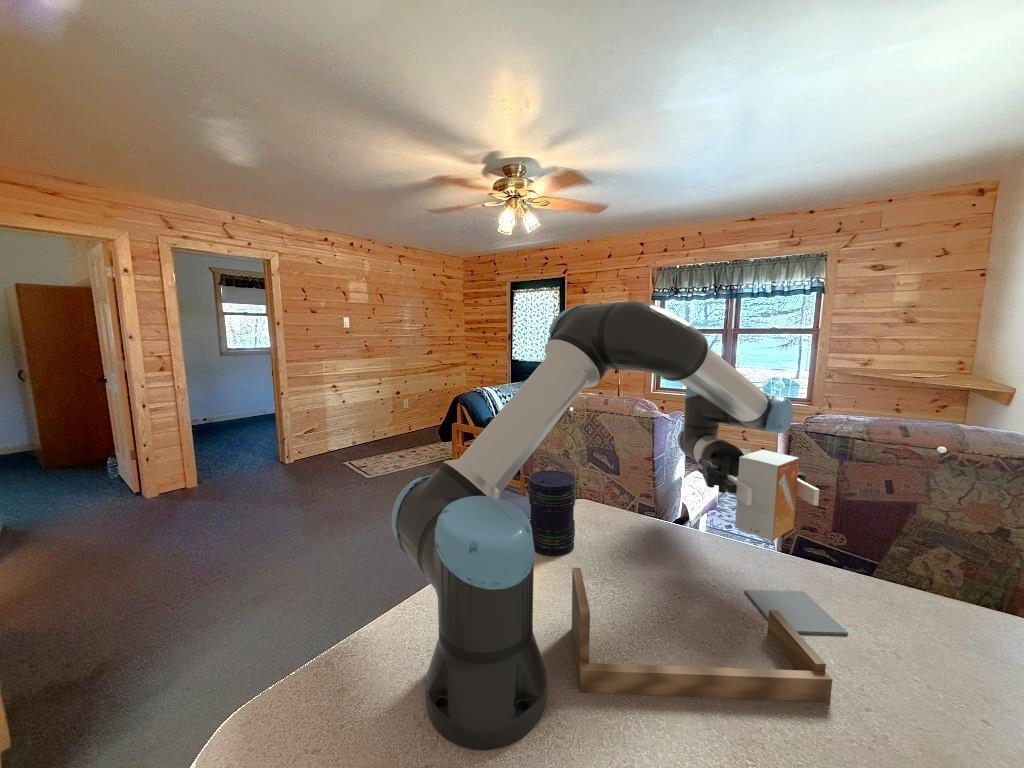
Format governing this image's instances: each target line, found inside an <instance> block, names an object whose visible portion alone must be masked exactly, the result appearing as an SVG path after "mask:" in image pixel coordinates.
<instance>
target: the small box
mask: <svg viewBox="0 0 1024 768" xmlns="http://www.w3.org/2000/svg"><path fill="white" fill-rule="evenodd" d="M799 465H800V457H798V456H793V455H789V454H783V453H779V452H775V451H770V450H766V449H760V450H758V451H754V452H750V453H747V454H744V456H741V457H739V472H738V476H737V479H738V480H740V481H741V482H743V483H744V484H746V485H747V486H749V487H750V488H751V489H752V502H751V505H746V504H745V503H743V502H742V501H741V500H740V499H738V498H737V497H736V506H735V507H736V508H735V522H734V527H735V528H736V529H738V530H741V531H744V532H746V533H748V534H751V535H753V536H756V537H759V538H762V539H764V540H768V541H770V542H774V541H775V540H776V539H778V538H780V537H781V536H783V535H785V534H786V533H788V532H790V531H792V530H793V529H794V525H795V513H796V501H797V500H796V499H797V496H796V490H797V478H798V472H799Z"/></svg>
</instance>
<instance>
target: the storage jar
mask: <svg viewBox="0 0 1024 768" xmlns="http://www.w3.org/2000/svg"><path fill="white" fill-rule="evenodd" d="M528 495H529V497H528V501H529V504H530V518H529V521H530V524H531V527H532V535H533V543H534V548H535V553H536V554H538V555H541V556H545V557H553V558H554V557H563V556H566V555H568V554H570V553H572V552H573V551H574V550H575V542H574V541H575V536H576V528H575V525H576V524H575V523H576V521H575V520H574V518H575V517H574V515H575V514H574V510H575V507H574V506H576V505H575V504H576V478H575V476H574V475H573V474H571V473H569V472H565V471H562V470H561V471H560V470H553V469H552V470H551V469H550V470H549V469H548V470H540V471H536V472H533V473H531V474H530V475H529V487H528Z"/></svg>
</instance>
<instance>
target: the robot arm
mask: <svg viewBox="0 0 1024 768" xmlns="http://www.w3.org/2000/svg"><path fill="white" fill-rule="evenodd" d="M548 333H549V336H548V337H547V343H545V346H544V353H545V358H544V359H543V360H542V362H541V363H540V364H538V366H537V367H536V369H534V371H532V373H531V375H529V377H528V378H527V379H526V380H525V381H524V383H523V384H522V385H521V386H519V389H517V391H516V392H515V393H514V394H513V395H512V396H511V397H510V399H509V400H508V401H507V402H506V404H504V405H503V407H502V408H501V409H500V410H499V411H498V412H497V414H496V415H495V416H494V417H493V418H492V419H491V421H490V422H489V424H487V426H486V427H485V428H484V429H483V430H482V431H481V432H480V434H479V435H478V436H477V437H476V439H474V441H473V442H472V443H471V444H470V445H469V446H468V448H466V450H465V451H464V452H463V453H462V455H461V456H459V458H457V459H450V460H444V461H443V462H442V463H441V464H440V465H439V466H438V468H437V469H436V470H435V471H434V472H433V473H432V474H431V475H426V476H421V477H418V478H416V479H413V480H411V482H409V483H408V484H407V485H406V486H404V488H403V489H402V490H401V492H400V493H399V494H398V496H397V497H396V499H395V502H394V504H393V507H392V511H391V528H392V531H393V534H394V537H395V538H396V541H397V543H398V546H399V547H400V549H401V551H402V552H403V554H404V555H407V556H408V557H409V559H410V560H411V561H412V562H413V563H414V565H415V566H416V567H417V569H418V570H419V572H421V573H422V575H423V576H424V577H425V578H426V580H427V581H428V582H429V583H430V585H431V586H432V588H434V589H435V592H436V595H437V614H438V615H437V617H438V619H437V620H438V639H437V641H436V645H435V647H434V651H433V654H432V658H431V661H430V663H429V666H428V670H427V674H426V679H425V705H426V706H425V707H426V711H427V715H428V717H429V719H430V721H431V723H432V725H433V726H434V728H435V729H436V730H437V731H438V732H439V734H441V735H442V736H443V737H444V738H445V739H447V740H449V741H450V742H452V743H454V744H456V745H458V746H460V747H461V746H462V747H464V748H469V749H473V750H490V749H491V750H492V749H496V748H501V747H505V746H507V745H510V744H511V743H514V742H516V741H518V740H520V739H521V738H523V737H524V736H525V735H526V734H528V733H529V732H530V731H531V730H533V728H534V726H536V724H537V723H538V721H539V720H540V718H541V716H542V715H543V712H544V711H545V707H546V702H547V693H548V692H547V690H548V687H547V686H548V685H547V683H548V682H547V680H548V677H547V671H546V666H545V663H544V660H543V657H542V654H541V652H540V648H539V645H538V643H537V640H536V637H535V634H534V631H533V630H534V625H533V624H534V568H535V567H534V562H535V556H536V554H535V553H536V552H535V548H534V543H533V535H532V527H531V524H530V521H529V520H530V518H528V516H527V515H526V513H525V512H524V511H523V510H522V509H521V508H519V506H517V505H515V504H514V503H512V502H510V501H508V500H506V499H503V498H501V494H502V493H503V491H504V490H505V489H506V487H508V485H509V484H510V482H511V481H512V480H513V479H514V477H515V476H516V475H517V474H518V472H519V471H520V470H521V468H522V467H523V466H524V464H525V463H526V462H527V461H528V459H529V458H531V456H532V454H533V453H534V452H535V450H537V447H538V446H539V445H540V444H541V443H542V441H543V440H544V439H545V438H546V437H547V435H548V434H549V433H550V431H551V430H552V429H553V427H554V426H555V425H556V423H557V422H558V421H559V420H560V418H561V417H562V416H563V415H564V413H565V412H566V411H567V409H568V408H569V407H570V406H571V404H573V402H574V400H575V399H576V398H577V397H578V396H579V394H580V393H581V391H582V390H583V389H584V388H585V389H586V388H587V389H588V388H594V387H596V386H597V385H598V384H599V382H600V381H601V380H602V379H603V378H604V377H605V375H606V374H607V373H608V371H609V370H616V371H617V370H618V371H619V370H620V371H633V372H634V371H635V372H636V371H637V372H642V373H643V372H644V373H649V374H654V375H657V376H659V377H660V378H662V379H664V380H666V381H669V382H680V383H681V384H683V385H684V386H685V388H686V389H685V396H684V424H683V428H682V429H681V430H680V431H679V433H678V435H677V440H676V441H677V446H678V447H679V449H680V450H681V451H682V452H683V453H684V455H685V456H687V457H688V458H690V459H692V460H693V461H695V462H696V463H697V472H699V473H700V474H701V475H702V477H703V479H704V482H705V485H706V486H707V487H708V488H712V489H713V488H715V486H718V493H721V494H725V493H727V492H728V493H730V494H732V495H733V496H735V498H736V499H737V498H738V499H740V500H741V501H742V502H743V503H745V504H746V505H751V502H752V489H751V488H750V487H749V486H747V485H746V484H744V483H743V482H741V481H740V480H738V472H739V457H741V456H744V455H745V454H744V453H743V451H742V450H741V449H740V448H739V447H738V446H736V445H734V444H733V443H730V442H729V441H727V440H725V439H723V438H721V437H719V426H720V424H722V425H727V426H733V427H737V428H738V427H740V428H744V429H750V430H756V431H762V432H764V433H774V434H783V433H786V432H787V431H788V430H789V429H790V427H791V425H792V422H793V419H794V418H793V417H794V405H793V403H792V401H791V400H790V399H789V398H787V397H782V396H778V395H768V394H766V393H765V392H764V391H763V390H761V389H760V388H759V387H757V385H755V383H753V382H752V381H750V380H749V379H748V378H747V377H745V376H744V375H743V374H742V373H741V372H739V370H737V369H736V368H734V367H733V366H732V365H731V364H729V363H728V362H727V361H726V360H725V359H724V358H722V357H721V356H720V355H719V354H717V353H716V352H715V351H714V350H712V349H711V348H710V346H709V342H708V341H709V340H708V339H707V338H706V335H704V334H703V333H702V332H701V331H700V330H699V329H697V328H696V327H695V326H694V325H692V324H691V323H689V322H688V321H686V320H685V319H683V318H682V317H680V316H678V315H676V314H675V313H673V312H671V311H669V310H667V309H665V308H663V307H661V306H659V305H656V304H653V303H649V302H646V301H639V300H628V301H627V300H625V301H617V302H606V303H605V302H604V303H595V304H593V303H591V304H585V303H584V304H579V305H577V306H573V307H569V308H566V309H564V310H562V311H561V312H560V313H559V314H558V315H556V317H554V319H553V321H552V323H551V324H550V327H549V330H548ZM806 475H807V474H805V473H803V472H799V471H798V478H797V490H796V497H798V498H800V499H802V500H803V501H805V502H806V503H809V504H810V505H812V506H817V507H818V506H819V498H820V489H819V488H817V487H816V486H813V485H812V484H809V483H808V482H806Z"/></svg>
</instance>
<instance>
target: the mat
mask: <svg viewBox="0 0 1024 768" xmlns="http://www.w3.org/2000/svg"><path fill="white" fill-rule="evenodd" d="M744 593H745V594H746V595H747V596H748V598H749V599H750V600H751V601H752V603H754V605H755V606H756V607H757V608H758V609H759V611H760V612H761V614H763V616H764V617H765V618H766V619H767V620H769V610H778V611H779V613H780V614H781V615H782V616H783V617H784V618H785V619H786V620H787V621H788V623H789V624H790V625H791V626H792V627H793V628H794V629H795V630H796V631H797V632H798V634H799V635H800V634H801V635H803V634H804V635H805V634H806V635H832V636H833V635H835V636H837V635H838V636H848V635H849V632H848V631H847V630H846V629H845V628H844V627H843V626H842V625H841V624H840V623H839V622H837V620H836V619H834V618H833V617H832V616H831V615H830V614H829V613H828V612H826V610H825V609H823V607H822V606H820V605H819V604H818V603H817V602H816V601H815V600H814V599H813V598H811V597H810V596H809V595H808V593H806V592H805V590H773V589H772V590H771V589H768V590H767V589H744Z"/></svg>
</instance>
